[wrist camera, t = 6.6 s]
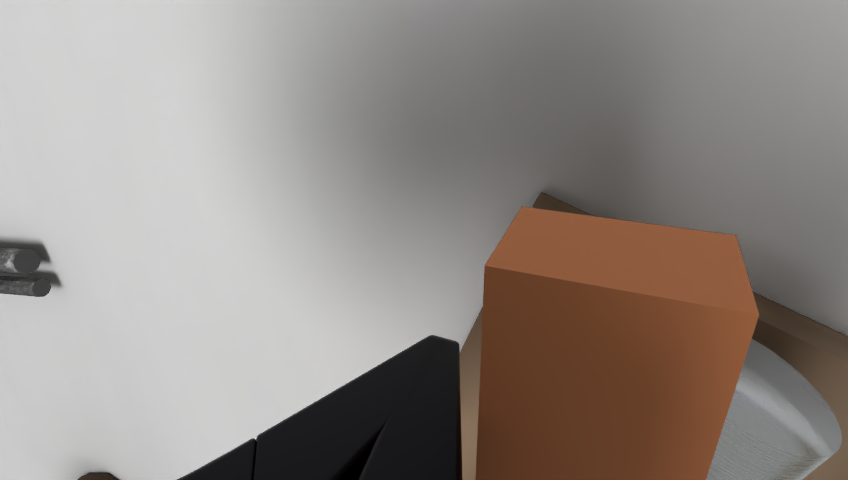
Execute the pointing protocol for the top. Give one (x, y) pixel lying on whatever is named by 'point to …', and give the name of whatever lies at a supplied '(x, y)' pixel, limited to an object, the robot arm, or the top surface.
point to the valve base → (768, 332)
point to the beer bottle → (97, 477)
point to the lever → (608, 349)
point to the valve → (24, 264)
